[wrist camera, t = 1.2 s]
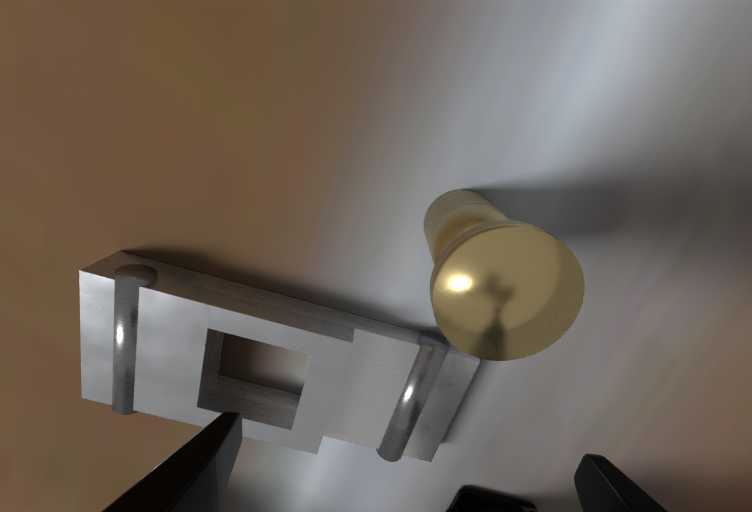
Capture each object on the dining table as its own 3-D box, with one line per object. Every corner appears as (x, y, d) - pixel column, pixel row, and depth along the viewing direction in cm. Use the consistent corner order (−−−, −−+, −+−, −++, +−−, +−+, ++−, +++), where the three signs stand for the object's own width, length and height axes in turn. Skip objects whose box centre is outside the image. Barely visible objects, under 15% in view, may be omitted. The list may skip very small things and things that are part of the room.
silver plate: (476, 343, 23) (489, 377, 20) (427, 446, 27) (432, 488, 24) (119, 246, 22) (75, 267, 19) (116, 369, 25) (78, 404, 22)
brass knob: (517, 195, 20) (613, 253, 11) (482, 274, 22) (542, 375, 13) (432, 169, 19) (465, 209, 11) (403, 251, 21) (413, 340, 13)
